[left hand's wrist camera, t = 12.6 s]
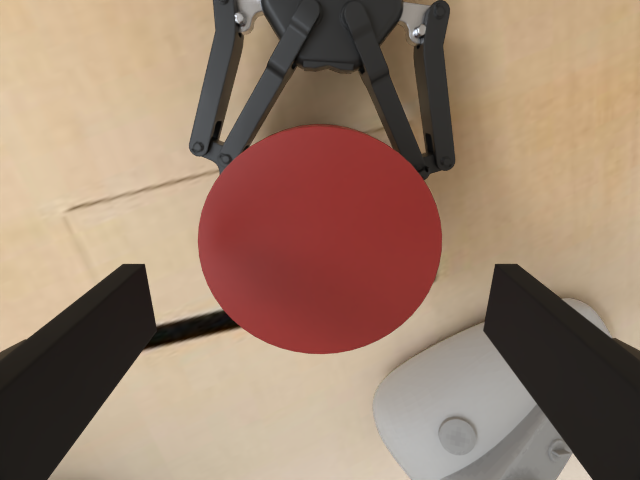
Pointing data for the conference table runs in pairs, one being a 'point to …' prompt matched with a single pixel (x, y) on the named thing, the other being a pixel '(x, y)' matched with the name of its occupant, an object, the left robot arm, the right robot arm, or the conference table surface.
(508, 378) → the projector
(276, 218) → the lid
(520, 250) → the conference table surface
